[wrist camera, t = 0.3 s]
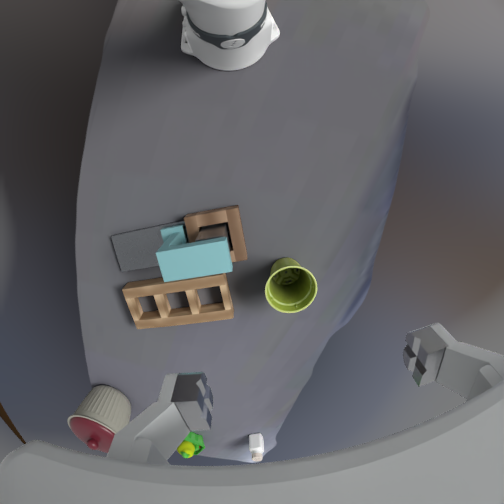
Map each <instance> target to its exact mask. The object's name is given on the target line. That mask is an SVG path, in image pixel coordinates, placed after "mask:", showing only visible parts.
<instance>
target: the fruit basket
mask: <svg viewBox="0 0 504 504" xmlns="http://www.w3.org/2000/svg"><path fill="white" fill-rule="evenodd" d="M204 448H205V446H204V443H203V438H202V436H201V435H198V434H195V433H193V432H190V433H189V434H188V435H187V437H186V438H185V439H184V440H183V441H182V443H181V444H180V445H179V446H178V448H177V451H178V452H179V454H181V455H182V456H183V457H184V458H190V457H192V455H193V454H194V455H197V454H198V453H200V452H201V451H202V450H203V449H204Z"/></svg>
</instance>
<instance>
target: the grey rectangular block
mask: <svg viewBox="0 0 504 504" xmlns="http://www.w3.org/2000/svg"><path fill="white" fill-rule="evenodd" d="M221 237H227V242H228V247H229V251H230V248H231V240H230V235H229V230H228V225H227V222H224V223H218V224H213V225H207V226H203V227H202V229H201V230H200V232H199V234H198V236H197V238H196V240H195V242H198V241H204V240H209V239H215V238H221Z"/></svg>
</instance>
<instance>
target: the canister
mask: <svg viewBox="0 0 504 504" xmlns="http://www.w3.org/2000/svg"><path fill="white" fill-rule="evenodd" d="M130 414H131V405H130V402H129V400H128V399H127V398H126V396H125V395H124V394H122V392H120V391H119V390H117V389H115V388H113V387H111V386H106V385H99V386H96V387H94V388H93V389H92V390H91V391H90V392H89V394H88V395H87V396H86V397H85V399H84V400H83V401H82V403H81V405H80V406H79V407H78V408H77V410H76V411H75V413H74V414H73V415H71V416H70V417H69V418H68V425H69V427H70V428H71V430H72V431H73V433H74V434H75V435H76V436H77V437H78V438H79V439H80V440H82V441H83V442H84V443H86V444H87V446H88V447H89V448H90V449H92V450H100V451H103V452H106V453H108V452H109V449H110V446H111V443H112V441H113V438H114V435H115V434H116V433H117V432H119V431H120V430H121V429H122V428H124V427H125V426H126V425H127V424H129V420H130Z"/></svg>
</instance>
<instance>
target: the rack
mask: <svg viewBox="0 0 504 504" xmlns="http://www.w3.org/2000/svg"><path fill="white" fill-rule="evenodd" d="M214 286H220V290H221V294H222V298H223V302H221V303H214V304H206V305H201V303H200V300H199V296H198V293H197V289H201V288H208V287H214ZM122 291H123V294H124V297H125V299H126V302H127V305H128V307H129V310H130V312H131V315H132V317H133V320H134V322H135V325H136V327H137V329H144V328H155V327H165V326H175V325H184V324H193V323H201V322H209V321H217V320H224V319H232V318H233V315H234V308H233V304H232V299H231V295H230V291H229V286H228V282H227V277H226V273H220V274H214V275H208V276H201V277H195V278H188V279H182V280H175V281H169V282H164V280H163V277H161V278H155V279H148V280H141V281H135V282H128V283H127V284H126V285H125V287H124V288H123V289H122ZM180 291H185V292H186V295H187V299H188V302H189V305H190V307H184V308H176V309H171V308H170V305H169V302H168V299H167V295H166V293H173V292H180ZM151 295H154V298H155V301H156V304H157V307H158V310H159V311H151V312H143V310H142V308H141V305H140V302H139V300H138V297H144V296H151Z"/></svg>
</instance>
